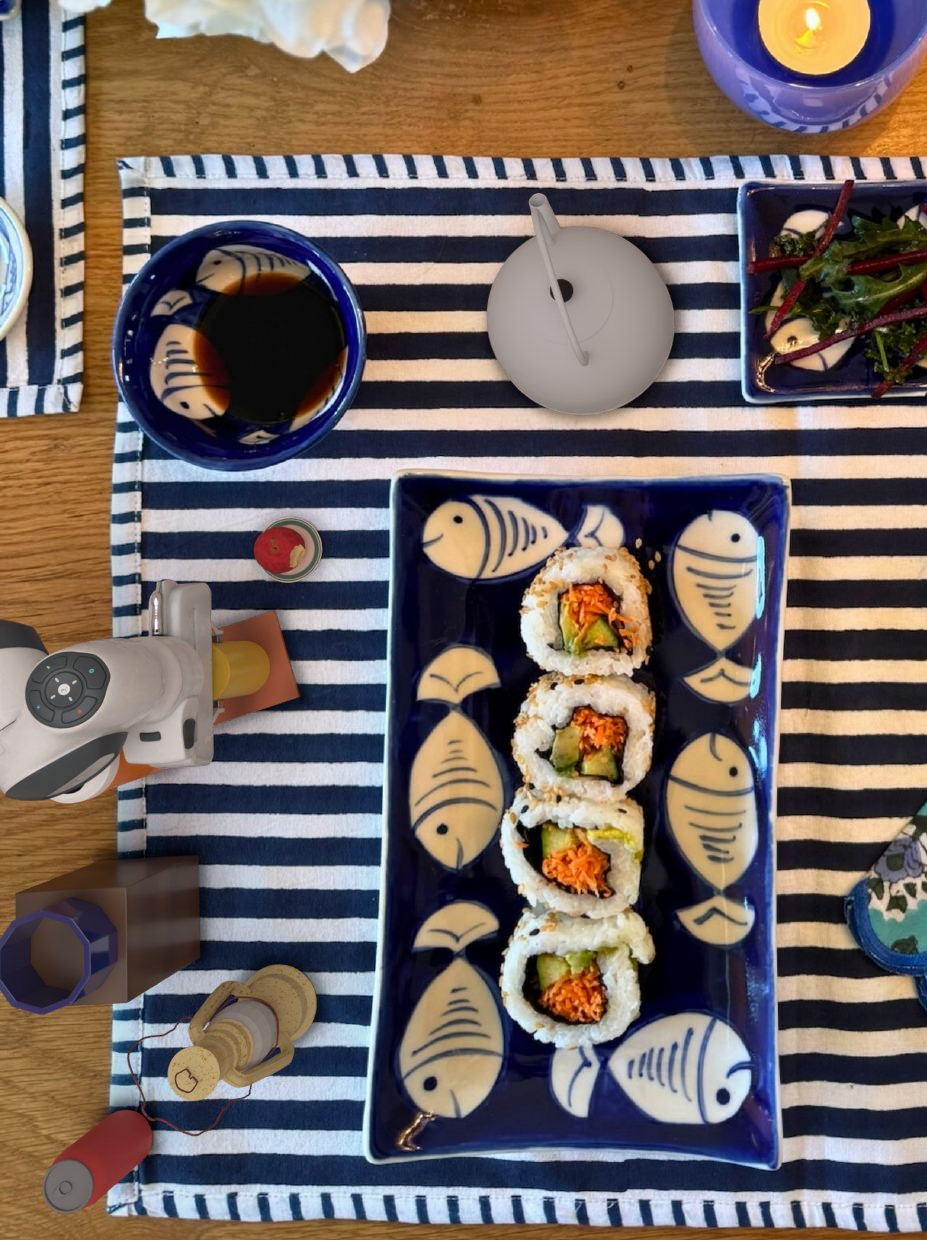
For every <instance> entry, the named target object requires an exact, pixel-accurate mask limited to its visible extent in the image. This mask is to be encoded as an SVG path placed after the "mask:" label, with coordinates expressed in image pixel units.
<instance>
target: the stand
mask: <svg viewBox="0 0 927 1240" xmlns="http://www.w3.org/2000/svg"><path fill="white" fill-rule="evenodd" d="M14 895H15V901H14V903H15V910H14V911H15V915H14V917H15V918H14V920H16V919H18V918H21V917H23V916H25V915H28V914H30V913H32V912H35V911H37V910H40V909H42V908H44V907H47V906H50V905H52V904H55V903H57V902H60V901H62V900H65V899H67V898H74V899H78V900H81V901H85V902H89V903H92V904H96V905H99V906H100V907H101V909H102V910H103V911H104V913H105V914H106V915H107V917H108V918H109V919H110V921H111V922H112V924H113V925H114V926H115V928H116V929H117V963H116V964H115V966H114V967H113V969H112V970H111V972H110V973H109V975H108V976H107V978H106V979H105V981H104V982H103V984H102V985H101V987H100V988H99V989H97V990H95V991H93V992H92V993H90V994H88V995H86V996H85V997H83V998H81V999H79V1000H78V1001H76V1002H74V1003H73V1004H70V1005H68V1006H67V1007H81V1006H98V1005H99V1006H100V1005H117V1004H128V1003H130V1002H131V1001H134V1000H135V999H136V998H138V997H140V996H141V995H143V994H144V993H146V992H147V991H149V990H151V989H152V988H154V987H155V986H157V985H158V984H160V983H162V982H163V981H165V980H167V979H168V978H170V977H172V976H173V975H174V974H176V973H178V972H179V971H181V970H183V969H184V968H186V967H188V965H191V964H192V963H194V962H195V961H197V960H199V959H200V958H201V915H200V914H201V911H200V909H201V907H200V855H199V854H191V855H176V856H175V855H173V856H157V857H156V856H155V857H137V858H121V859H120V858H119V859H103V860H101V859H100V860H97V861H95V862H93V863H91V864H90V863H89V864H88V865H85V866H83V867H79V868H77V869H75V870H72V871H69V872H67V873H64V874H62V875H59V876H57V877H54V878H51V879H48V880H46V881H44V882H41V883H38V884H35V885H33V886H31V887H28V888H25V889H23V890H20V891H18V892H15V894H14ZM30 951H31V965H32V966H33V968H34V969H35V971H36V972H37V973H38V975H39V976H40V977H41V979H42V980H43V982H44V983H45V984H46V985H47V986H51V987H54V988H58V989H61V990H65V991H68V992H73V990H74V989H75V987H76V986H77V984H78V983H79V981H80V980H81V978H82V977H83V975H84V945H83V944H82V943H81V941H80V940H79V938H78V937H77V936H76V934H75V933H74V932H73V930H72V929H71V928H70V926H69V925H68V924H67V923H63V922H59V921H56V920H52V919H49V918H45V917H43V919H42V920H41V922H40V923H39V925H38V926H37V928H36V929H35V931H34V932H33V934H32V935H31V937H30ZM15 1010H19V1009H18V1008H15Z"/></svg>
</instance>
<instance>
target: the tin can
mask: <svg viewBox="0 0 927 1240" xmlns="http://www.w3.org/2000/svg"><path fill="white" fill-rule="evenodd" d="M269 673H270V661H269V658H268V655H267V653H266V652H265V651H264V649H263V648H262V647H261V646H259V645H258V644H256V643H254V642H251V641H230V642H218V643H212V676H213V701H216V700H221V699H227V698H233V697H239V696H244V695H249V694H252V693H254V692H256V691H258V690H259V689H260V688H261V687H262V686H263V685H264V684H265V682H266V681H267V679H268V676H269Z"/></svg>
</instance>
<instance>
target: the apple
mask: <svg viewBox="0 0 927 1240" xmlns="http://www.w3.org/2000/svg"><path fill="white" fill-rule="evenodd" d="M253 554H254V559H255V561H256V562H257V564H258V565H259V566H260V568H261V570H263V572H264V573H265V574H266V575H267V576H268V577H269V578H271V579H273V580H274V581H277V582H280V583H296V582H300V581H302V580H304V579H307V578H308V577H309V576H310V575H312V573H313V572H314V571H315V570H317V568H318V566H319V564H320V562H321V559H322V555H323V543H322V539H321V536H320V534H319V533H318V531H317V529H316V528H315V527H314V526H313V525H312V524H311V523H309V522H308V521H306V520H304V519H302V518H299V517H292V516H290V517H289V516H287V517H282V518H279V519H276V520H274V521H273V522H271V523H270V524H268V525H267V527H266V528H265V529H263V531H262V533H260V535H259V536H258V537H257V538H256V540H255V543H254V547H253Z"/></svg>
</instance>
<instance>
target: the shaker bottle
mask: <svg viewBox="0 0 927 1240" xmlns="http://www.w3.org/2000/svg"><path fill="white" fill-rule="evenodd" d="M164 770H167V768H155V767H152V766H150V765H149V764H133V763H128V762H127V761H126V759H125V756H124V751H123V747H122V749H121V751H120V753H119V755H118V756H117V758H116V759H115V760H114V761H113V762H112V763H111V764H110V765H109V766H108V767H107V768H106V769H105V770H104V771H103V772H101V773H100V774H99V775H97V776H96V777H95V778H93V779H92V780H90V781H89V782H87V783H85V784H84V785H82V786H80V787H78V788H76V789H74V790H72V791H69V792H67V793H65V794H62V795H59V796H57V797H54V798H51V799H50V800H51V801H54V802H57V803H61V804H76V803H80V802H85V801H89V800H92V799H94V798H96V797H98V796H100V795H101V794H103V793H104V792H107V791H109V790H110V791H111V790H113V789H115V788H118V787H121V786H124V785H126V784H129V783H132V782H135V781H137V780H139V779H140V780H141V779H142V778H146V777H148V776H151V775H153V774H157V773H159V772H161V771H164Z"/></svg>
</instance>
